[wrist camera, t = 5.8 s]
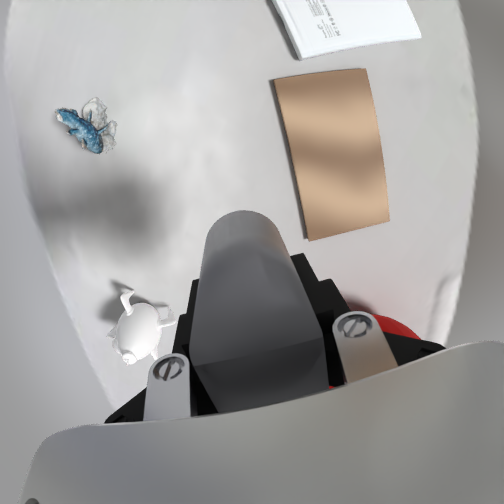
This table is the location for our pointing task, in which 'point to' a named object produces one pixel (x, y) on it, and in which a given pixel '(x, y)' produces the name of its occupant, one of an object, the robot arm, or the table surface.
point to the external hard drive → (345, 24)
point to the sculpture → (90, 126)
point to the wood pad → (334, 150)
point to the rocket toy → (138, 330)
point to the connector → (253, 319)
